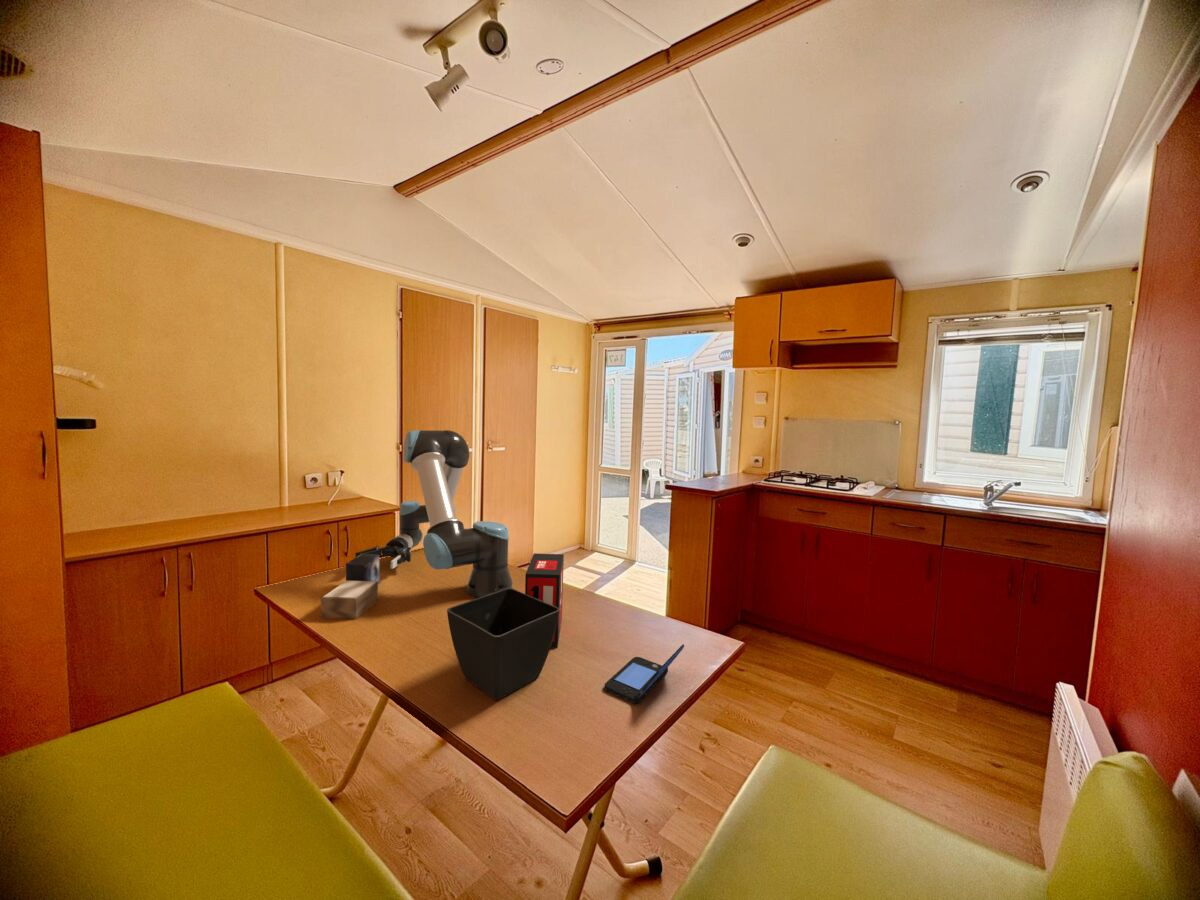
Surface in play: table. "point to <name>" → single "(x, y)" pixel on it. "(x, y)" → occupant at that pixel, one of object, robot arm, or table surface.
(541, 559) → the cleaning product box
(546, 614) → the flower pot
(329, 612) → the base
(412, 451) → the robot arm
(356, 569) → the small box
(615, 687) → the black walkie-talkie
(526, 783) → the table surface
